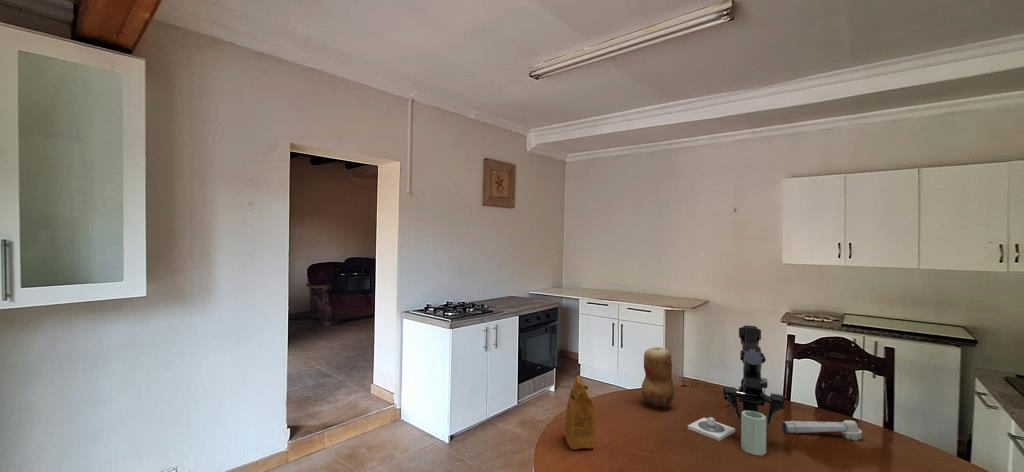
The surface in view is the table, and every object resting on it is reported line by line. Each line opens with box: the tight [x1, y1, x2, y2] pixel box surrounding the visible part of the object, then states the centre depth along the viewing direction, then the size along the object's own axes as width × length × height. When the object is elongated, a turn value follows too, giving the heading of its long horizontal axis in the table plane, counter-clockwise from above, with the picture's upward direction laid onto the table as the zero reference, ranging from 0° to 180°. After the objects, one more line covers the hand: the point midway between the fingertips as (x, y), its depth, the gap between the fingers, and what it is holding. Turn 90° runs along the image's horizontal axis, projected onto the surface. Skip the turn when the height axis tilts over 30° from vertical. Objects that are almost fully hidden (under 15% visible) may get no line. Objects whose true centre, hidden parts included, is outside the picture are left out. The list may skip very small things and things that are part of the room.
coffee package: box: [564, 375, 597, 450], centre depth 144 cm, size 10×12×22 cm
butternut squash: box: [640, 346, 676, 408], centre depth 177 cm, size 14×13×25 cm
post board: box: [687, 416, 736, 442], centre depth 155 cm, size 12×12×5 cm
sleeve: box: [740, 410, 767, 456], centre depth 140 cm, size 7×7×12 cm
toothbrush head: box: [781, 419, 863, 441], centre depth 152 cm, size 5×7×25 cm
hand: (753, 420), depth 142 cm, fingers open, 9 cm apart
